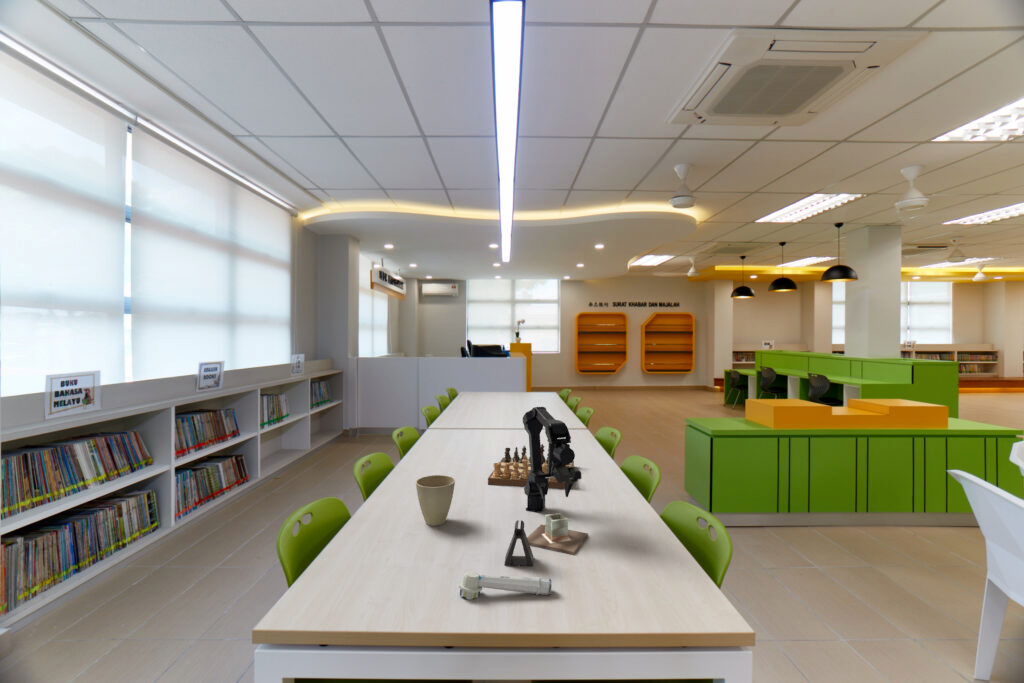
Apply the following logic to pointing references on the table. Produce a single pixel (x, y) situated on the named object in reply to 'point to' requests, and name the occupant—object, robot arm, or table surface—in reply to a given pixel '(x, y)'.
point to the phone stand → (528, 557)
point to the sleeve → (556, 527)
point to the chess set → (519, 470)
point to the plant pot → (435, 497)
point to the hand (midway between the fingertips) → (555, 498)
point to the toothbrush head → (502, 584)
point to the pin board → (563, 546)
